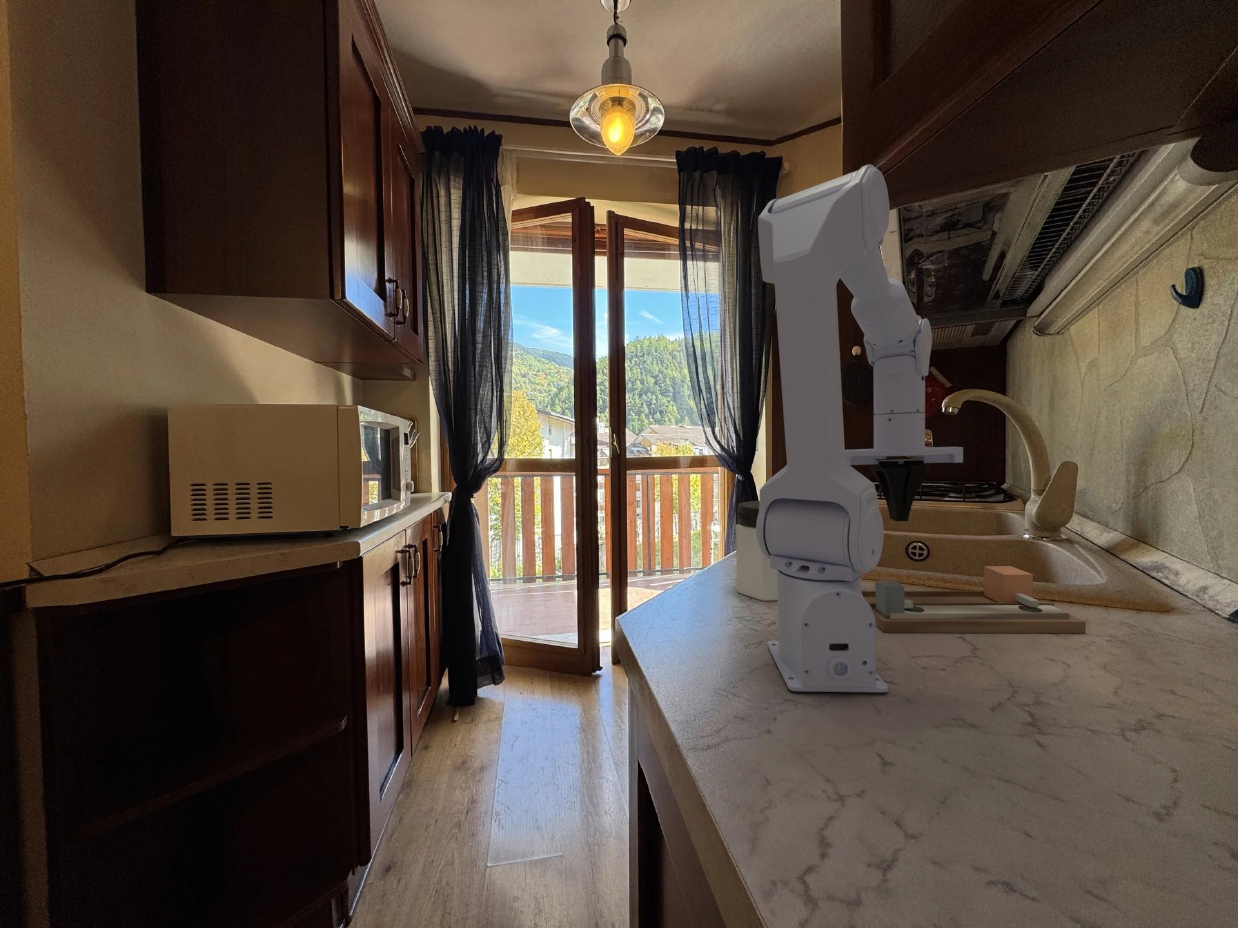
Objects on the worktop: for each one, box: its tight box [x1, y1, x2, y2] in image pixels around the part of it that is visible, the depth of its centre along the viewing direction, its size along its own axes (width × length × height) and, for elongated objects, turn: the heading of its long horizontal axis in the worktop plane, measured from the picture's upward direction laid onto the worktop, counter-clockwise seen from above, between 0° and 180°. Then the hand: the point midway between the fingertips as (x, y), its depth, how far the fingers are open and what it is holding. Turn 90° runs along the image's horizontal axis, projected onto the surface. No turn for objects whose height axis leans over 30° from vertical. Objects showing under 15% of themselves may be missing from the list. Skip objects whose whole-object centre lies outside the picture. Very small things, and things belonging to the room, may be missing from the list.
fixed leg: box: [875, 579, 913, 619], centre depth 56 cm, size 2×3×4 cm
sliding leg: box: [983, 565, 1039, 607], centre depth 57 cm, size 6×3×4 cm, turn 175°
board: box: [861, 590, 1087, 634], centre depth 57 cm, size 9×20×2 cm, turn 85°
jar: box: [735, 500, 778, 602], centre depth 69 cm, size 9×8×12 cm
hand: (898, 520), depth 65 cm, fingers closed
